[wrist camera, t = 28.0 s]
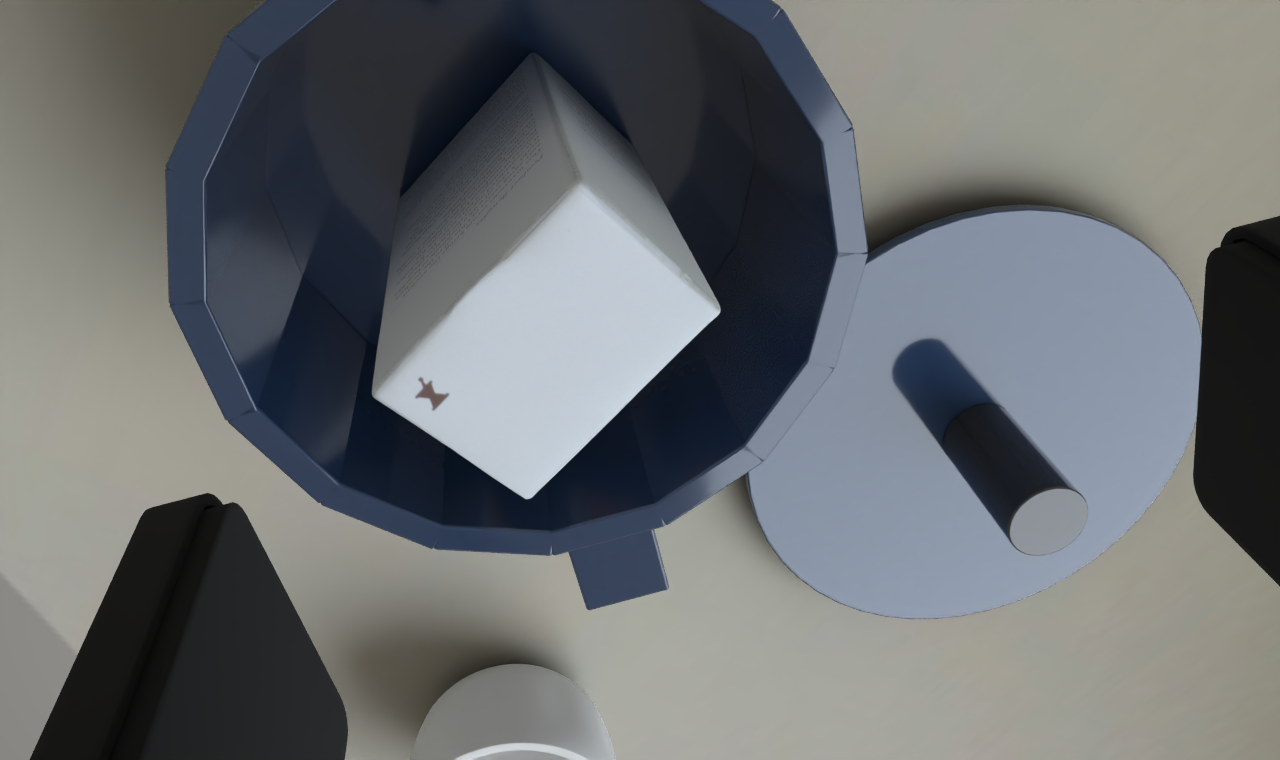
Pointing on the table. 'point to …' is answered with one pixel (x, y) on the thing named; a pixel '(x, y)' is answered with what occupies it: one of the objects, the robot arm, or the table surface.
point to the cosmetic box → (532, 284)
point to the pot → (396, 157)
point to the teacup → (513, 719)
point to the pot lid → (985, 415)
